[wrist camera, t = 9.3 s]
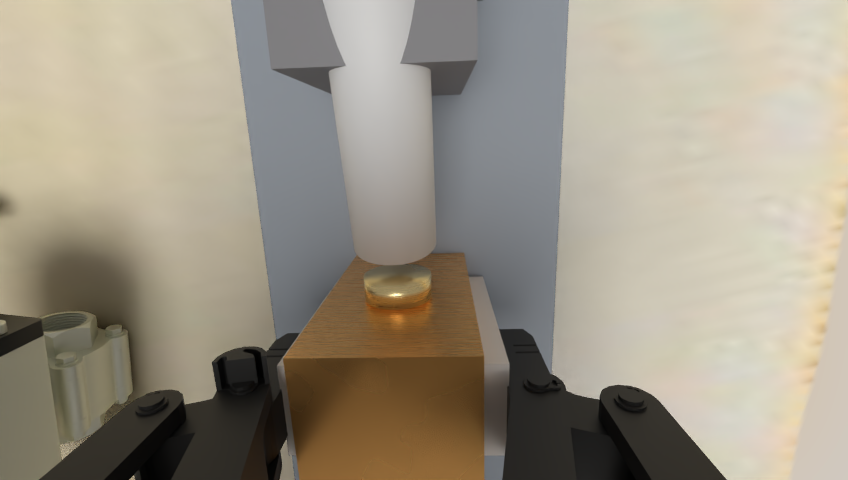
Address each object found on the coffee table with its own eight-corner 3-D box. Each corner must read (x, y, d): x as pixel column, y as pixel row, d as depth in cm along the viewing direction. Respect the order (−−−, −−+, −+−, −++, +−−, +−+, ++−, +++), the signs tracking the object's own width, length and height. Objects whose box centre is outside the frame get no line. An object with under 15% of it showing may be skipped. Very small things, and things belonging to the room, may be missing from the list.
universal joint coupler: (355, 238, 16) (278, 330, 9) (463, 235, 16) (484, 326, 9) (365, 366, 18) (307, 541, 10) (465, 365, 18) (484, 542, 10)
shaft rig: (536, 578, 22) (601, 871, 13) (316, 575, 22) (237, 855, 14) (566, -130, 14) (771, -566, 5) (228, -109, 15) (-82, -474, 6)
